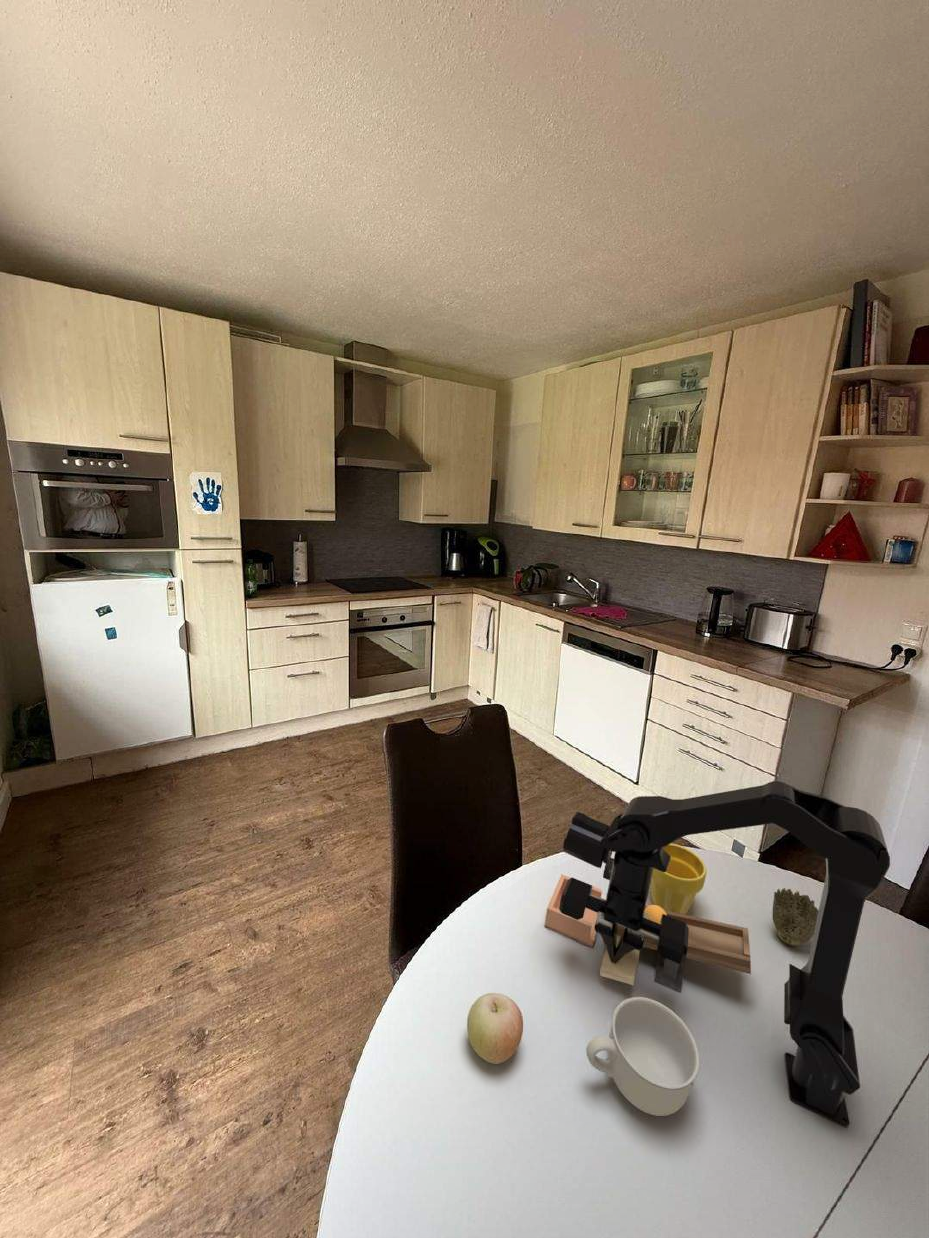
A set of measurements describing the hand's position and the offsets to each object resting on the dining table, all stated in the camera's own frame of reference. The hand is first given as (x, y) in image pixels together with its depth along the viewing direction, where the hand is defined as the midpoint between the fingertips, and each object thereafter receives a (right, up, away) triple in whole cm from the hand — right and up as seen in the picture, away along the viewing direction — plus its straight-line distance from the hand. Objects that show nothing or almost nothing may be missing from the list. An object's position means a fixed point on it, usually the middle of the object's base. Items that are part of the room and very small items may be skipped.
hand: (613, 960), depth 81 cm
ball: (+9, +4, +5) cm, 11 cm away
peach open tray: (-4, 0, +12) cm, 13 cm away
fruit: (-20, -5, -11) cm, 23 cm away
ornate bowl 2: (+35, -4, +11) cm, 37 cm away
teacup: (-2, -7, -14) cm, 15 cm away
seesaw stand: (+11, -3, +5) cm, 13 cm away
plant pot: (+16, -1, +17) cm, 23 cm away
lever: (+10, 0, +1) cm, 10 cm away
